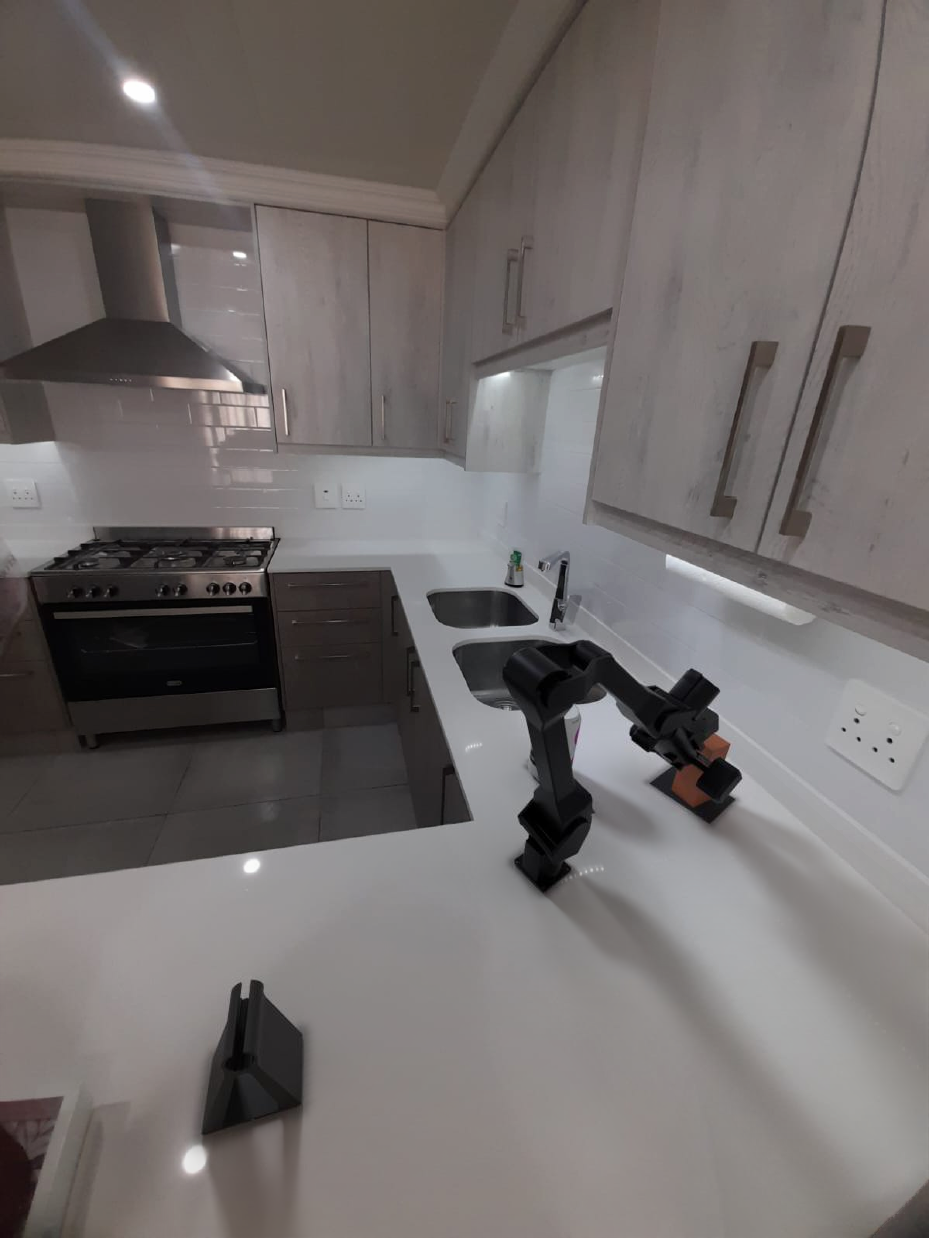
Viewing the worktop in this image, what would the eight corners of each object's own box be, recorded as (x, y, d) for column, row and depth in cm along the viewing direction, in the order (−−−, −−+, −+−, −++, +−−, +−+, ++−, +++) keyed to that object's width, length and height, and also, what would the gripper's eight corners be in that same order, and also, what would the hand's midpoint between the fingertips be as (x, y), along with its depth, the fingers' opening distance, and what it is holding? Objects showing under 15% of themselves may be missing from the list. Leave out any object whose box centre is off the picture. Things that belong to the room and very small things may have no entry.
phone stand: (303, 1036, 54) (294, 969, 49) (301, 1105, 48) (291, 1038, 43) (213, 1059, 51) (195, 991, 46) (201, 1135, 46) (179, 1068, 41)
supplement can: (567, 760, 99) (579, 697, 92) (571, 789, 91) (585, 723, 85) (527, 755, 99) (537, 693, 93) (528, 784, 92) (538, 718, 86)
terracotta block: (693, 807, 89) (712, 751, 83) (670, 789, 93) (688, 734, 87) (710, 799, 91) (731, 743, 86) (688, 782, 95) (706, 727, 90)
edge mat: (709, 823, 86) (710, 823, 86) (649, 783, 94) (649, 782, 94) (735, 799, 92) (735, 798, 92) (676, 763, 100) (676, 762, 100)
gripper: (754, 731, 72) (772, 768, 82) (654, 671, 87) (679, 709, 96) (706, 788, 71) (730, 818, 81) (613, 718, 86) (643, 751, 96)
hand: (694, 769), depth 89 cm, fingers open, 9 cm apart
